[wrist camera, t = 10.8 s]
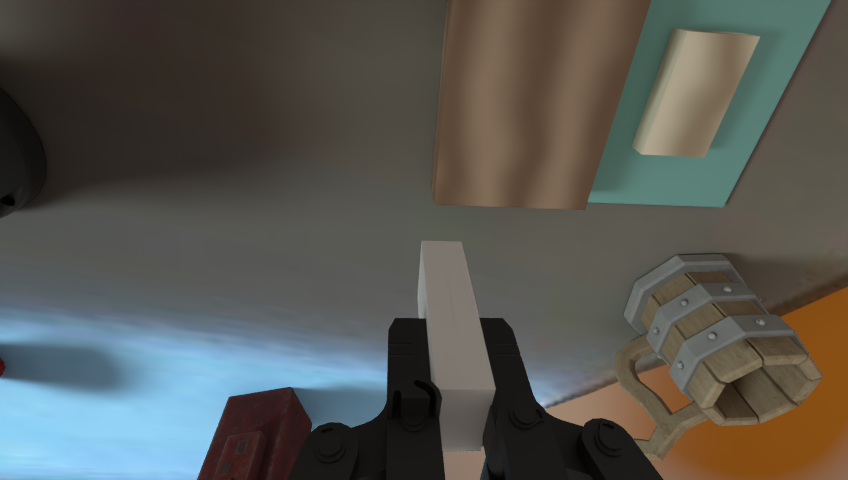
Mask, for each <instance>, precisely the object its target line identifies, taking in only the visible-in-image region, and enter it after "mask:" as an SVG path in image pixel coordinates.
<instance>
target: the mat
mask: <svg viewBox="0 0 848 480" xmlns="http://www.w3.org/2000/svg"><path fill="white" fill-rule="evenodd" d="M830 2H831V0H651V3H650V6H649V10H648V13H647V16H646V19H645V22H644V25H643V28H642V32H641V35H640V38H639V41H638V44H637V47H636V50H635V54H634V57H633V60H632V63H631V66H630V69H629V73H628V76H627V79H626V82H625V85H624V88H623V91H622V95H621V98H620V101H619V104H618V107H617V110H616V113H615V117H614V120H613V123H612V126H611V129H610V132H609V136H608V139H607V142H606V145H605V148H604V151H603V154H602V158H601V161H600V164H599V167H598V170H597V173H596V176H595V180H594V183H593V186H592V189H591V192H590V195H589V199H588V202H597V203H624V204H651V205H678V206H705V207H724V205H725V203H726V201H727V199H728V197H729V195H730V194H731V192H732V190H733V188H734V186H735V184H736V182H737V180H738V178H739V176H740V174H741V172H742V170H743V169H744V167H745V165H746V163H747V161H748V159H749V157H750V155H751V153H752V151H753V149H754V147H755V146H756V144H757V142H758V140H759V138H760V136H761V134H762V132H763V130H764V128H765V126H766V124H767V123H768V121H769V119H770V117H771V115H772V113H773V111H774V109H775V107H776V105H777V103H778V101H779V100H780V98H781V96H782V94H783V92H784V90H785V88H786V86H787V84H788V82H789V80H790V78H791V76H792V75H793V73H794V71H795V69H796V67H797V65H798V63H799V61H800V59H801V57H802V55H803V53H804V52H805V50H806V48H807V46H808V44H809V42H810V40H811V38H812V36H813V34H814V32H815V30H816V29H817V27H818V25H819V23H820V21H821V19H822V17H823V15H824V13H825V11H826V9H827V7H828V5H829V4H830ZM673 28H683V29H696V30H709V31H723V32H736V33H745V34H750V35H755V36H759V37H760V39H759V41H758V43H757V45H756V47H755V49H754V52H753V54H752V56H751V58H750V60H749V62H748V65H747V67H746V69H745V71H744V73H743V75H742V78H741V80H740V82H739V84H738V86H737V88H736V91H735V93H734V95H733V97H732V99H731V101H730V104H729V106H728V108H727V110H726V112H725V114H724V117H723V119H722V121H721V123H720V125H719V127H718V130H717V132H716V134H715V136H714V138H713V140H712V143H711V145H710V147H709V149H708V151H707V153H706V156H705V158H703V157H683V156H662V155H642V154H640V153H639V152H638V151H637V150H635V149H634V148H633V147H631V146H632V143H633V140H634V137H635V134H636V131H637V129H638V126H639V123H640V120H641V117H642V115H643V112H644V109H645V106H646V103H647V100H648V98H649V95H650V92H651V89H652V86H653V84H654V81H655V78H656V75H657V72H658V70H659V67H660V64H661V61H662V58H663V55H664V53H665V50H666V47H667V44H668V41H669V39H670V36H671V33H672V30H673Z"/></svg>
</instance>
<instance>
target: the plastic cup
mask: <svg viewBox="0 0 848 480" xmlns="http://www.w3.org/2000/svg"><path fill="white" fill-rule="evenodd" d="M4 369H5V365H4V362H3V361H2V360H1V359H0V377H1V376H2V374H3V371H4Z"/></svg>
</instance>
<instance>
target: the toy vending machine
mask: <svg viewBox="0 0 848 480" xmlns="http://www.w3.org/2000/svg"><path fill="white" fill-rule="evenodd" d="M311 428H312V423H311V421H310V419H309V417H308V415H307V414H306V412H305V410H304V408H303V407H302V405H301V403H300V401H299V400H298V398H297V396H296V394H295V393H294V391H293V389H292V388H291V387H287V388H281V389H275V390H269V391H263V392H257V393H251V394H245V395H239V396H233V397H229V398H228V401H227V403H226V406H225V409H224V411H223V414H222V416H221V419H220V422H219V424H218V427H217V429H216V432H215V434H214V437H213V440H212V442H211V445H210V447H209V450H208V452H207V455H206V458H205V460H204V463H203V465H202V468H201V471H200V473H199V476H198V478H197V480H287V478H288V476H289V474H290V472H291V469H292V467H293V465H294V463H295V461H296V458H297V456H298V454H299V452H300V449H301V447H302V445H303V443H304V441H305V439H306V438H307V437H308V435H309V434H310V432H311Z"/></svg>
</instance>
